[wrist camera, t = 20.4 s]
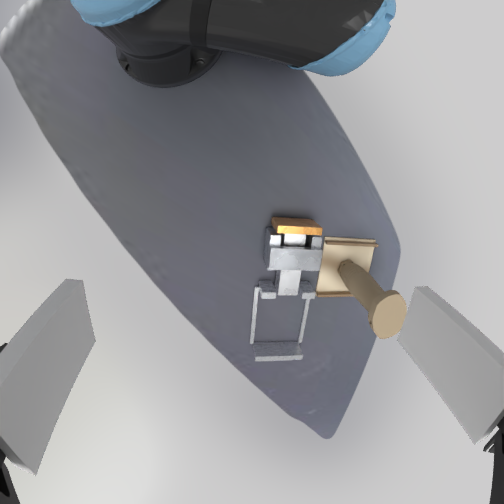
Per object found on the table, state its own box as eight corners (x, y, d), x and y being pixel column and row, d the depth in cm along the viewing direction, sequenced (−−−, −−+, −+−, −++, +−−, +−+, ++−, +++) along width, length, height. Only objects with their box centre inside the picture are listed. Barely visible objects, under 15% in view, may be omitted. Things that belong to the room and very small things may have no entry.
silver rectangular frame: (255, 280, 45) (258, 292, 41) (312, 281, 46) (319, 292, 42) (249, 346, 49) (251, 361, 46) (299, 345, 51) (305, 359, 47)
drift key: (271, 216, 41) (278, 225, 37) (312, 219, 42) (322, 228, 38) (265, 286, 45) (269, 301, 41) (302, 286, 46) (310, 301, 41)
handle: (356, 245, 44) (405, 288, 30) (361, 279, 47) (406, 329, 33) (328, 255, 44) (370, 303, 30) (335, 289, 47) (374, 344, 33)
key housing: (266, 227, 42) (272, 237, 38) (313, 229, 43) (324, 239, 38) (263, 259, 44) (268, 272, 39) (309, 260, 45) (319, 273, 40)
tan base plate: (324, 236, 44) (327, 239, 42) (374, 239, 45) (378, 242, 43) (314, 294, 47) (317, 299, 46) (362, 294, 48) (365, 298, 47)
